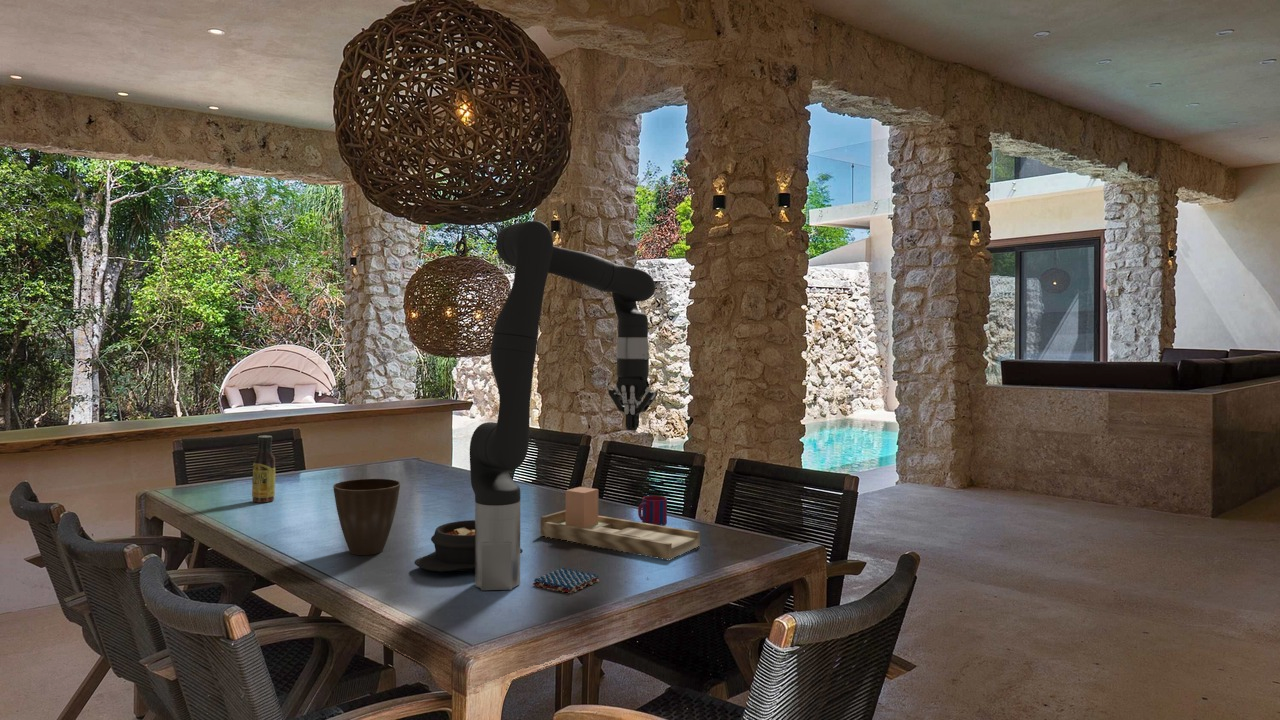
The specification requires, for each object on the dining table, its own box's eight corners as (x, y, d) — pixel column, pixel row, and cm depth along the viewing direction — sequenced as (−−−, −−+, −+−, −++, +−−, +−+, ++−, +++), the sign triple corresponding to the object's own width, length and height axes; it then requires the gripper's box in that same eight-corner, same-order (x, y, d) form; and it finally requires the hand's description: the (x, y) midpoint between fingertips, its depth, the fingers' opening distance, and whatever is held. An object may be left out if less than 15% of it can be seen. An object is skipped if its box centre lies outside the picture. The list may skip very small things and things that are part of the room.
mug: (671, 523, 224) (672, 498, 224) (645, 528, 217) (645, 503, 217) (654, 518, 229) (654, 494, 229) (628, 524, 222) (628, 499, 222)
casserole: (444, 586, 168) (444, 545, 168) (397, 567, 181) (397, 529, 181) (540, 562, 186) (540, 525, 186) (491, 546, 199) (491, 512, 199)
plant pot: (377, 539, 204) (377, 476, 204) (413, 550, 195) (412, 483, 194) (321, 552, 193) (320, 484, 192) (356, 563, 183) (356, 492, 183)
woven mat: (529, 588, 168) (529, 578, 168) (561, 575, 177) (561, 566, 177) (570, 597, 163) (570, 587, 163) (601, 583, 172) (601, 574, 172)
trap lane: (699, 546, 200) (699, 526, 199) (668, 560, 188) (668, 538, 187) (575, 525, 221) (575, 506, 220) (540, 536, 209) (540, 516, 208)
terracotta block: (598, 523, 212) (598, 489, 211) (584, 528, 207) (584, 493, 206) (579, 520, 215) (580, 486, 215) (565, 525, 210) (565, 490, 210)
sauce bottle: (247, 502, 246) (246, 436, 246) (262, 498, 252) (262, 434, 252) (265, 504, 244) (264, 437, 244) (280, 500, 250) (279, 435, 250)
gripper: (600, 356, 193) (600, 429, 194) (647, 357, 186) (647, 433, 187) (618, 355, 200) (618, 426, 200) (665, 357, 192) (664, 430, 193)
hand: (632, 430), depth 194 cm, fingers closed
